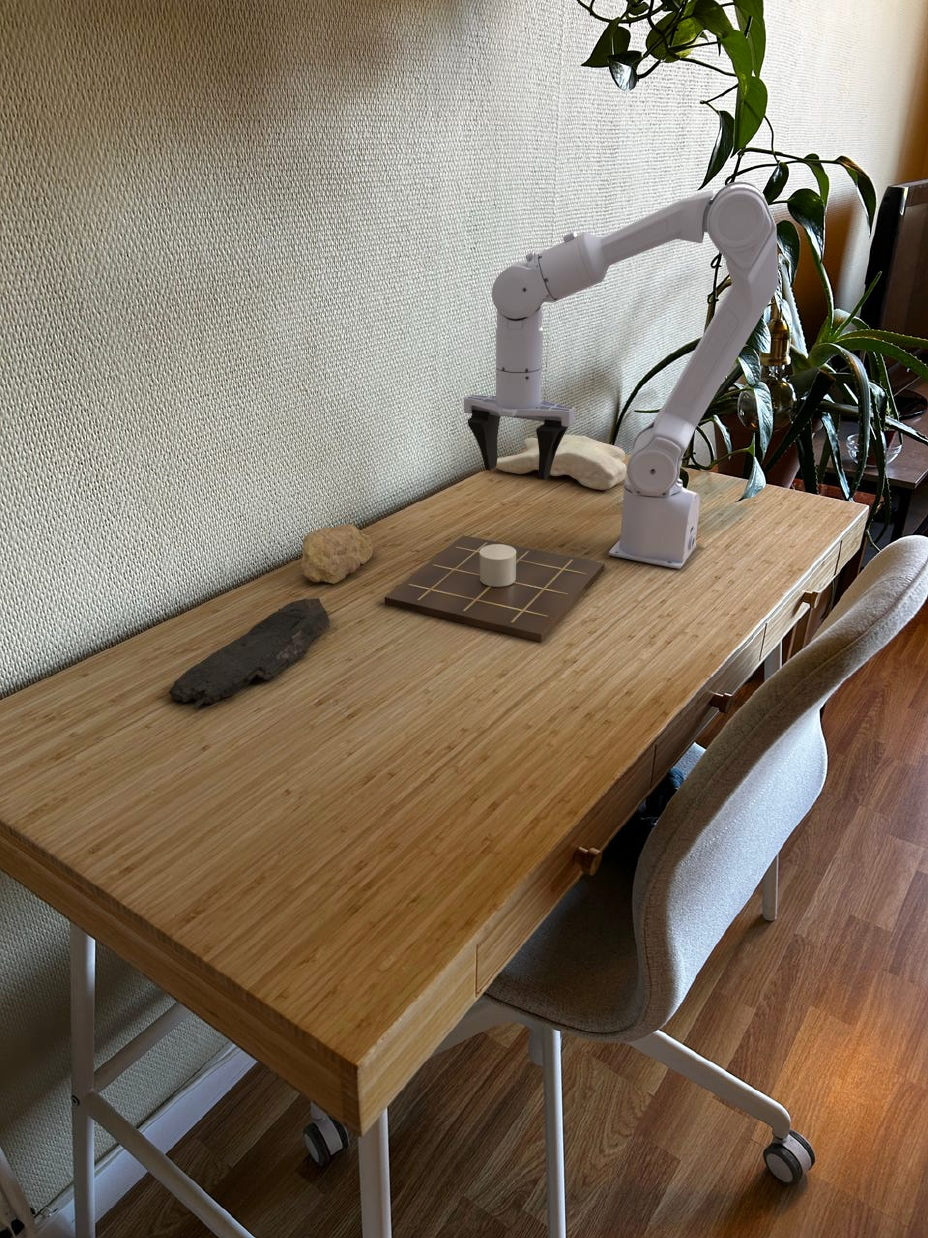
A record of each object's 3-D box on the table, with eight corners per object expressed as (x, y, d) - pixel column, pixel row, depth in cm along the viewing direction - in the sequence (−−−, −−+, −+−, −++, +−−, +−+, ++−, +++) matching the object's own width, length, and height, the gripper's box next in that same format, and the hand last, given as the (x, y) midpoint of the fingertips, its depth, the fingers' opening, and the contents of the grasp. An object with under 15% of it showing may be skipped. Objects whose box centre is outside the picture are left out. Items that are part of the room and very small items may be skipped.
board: (604, 570, 115) (604, 562, 114) (541, 642, 99) (541, 633, 99) (463, 541, 123) (463, 534, 122) (384, 604, 107) (384, 596, 107)
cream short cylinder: (516, 571, 112) (516, 544, 110) (515, 587, 108) (516, 559, 107) (480, 570, 112) (480, 543, 111) (478, 586, 109) (478, 559, 107)
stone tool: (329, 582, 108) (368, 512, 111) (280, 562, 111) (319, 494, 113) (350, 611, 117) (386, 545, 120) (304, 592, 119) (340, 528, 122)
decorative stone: (650, 438, 146) (615, 461, 135) (647, 469, 148) (612, 494, 137) (531, 420, 156) (488, 440, 144) (530, 450, 158) (487, 471, 147)
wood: (219, 722, 87) (214, 695, 85) (163, 700, 90) (158, 674, 89) (357, 623, 104) (355, 600, 102) (305, 608, 107) (303, 584, 105)
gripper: (451, 368, 112) (453, 473, 119) (561, 381, 106) (557, 491, 113) (477, 356, 118) (478, 457, 124) (583, 367, 112) (578, 473, 118)
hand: (517, 472), depth 119 cm, fingers open, 7 cm apart
